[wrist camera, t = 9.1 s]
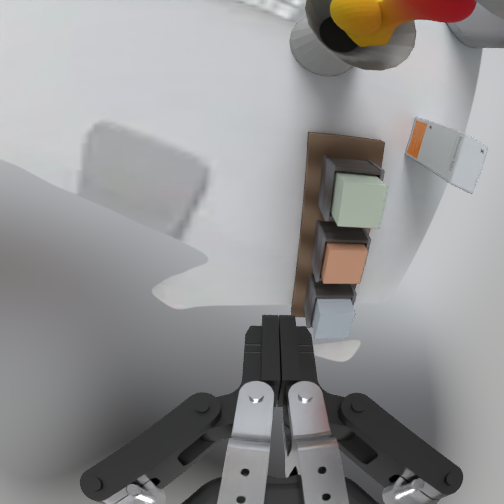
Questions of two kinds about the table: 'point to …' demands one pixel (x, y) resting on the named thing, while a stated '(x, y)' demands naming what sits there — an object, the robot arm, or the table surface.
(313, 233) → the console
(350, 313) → the grey block
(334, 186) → the sage block
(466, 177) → the skincare box
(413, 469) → the robot arm
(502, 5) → the lava lamp
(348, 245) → the terracotta block
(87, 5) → the table surface
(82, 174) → the table surface
